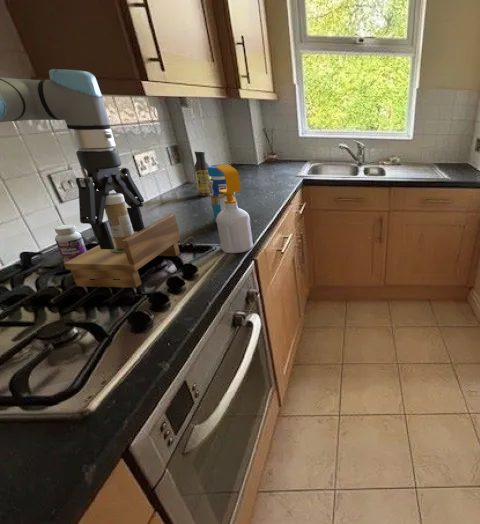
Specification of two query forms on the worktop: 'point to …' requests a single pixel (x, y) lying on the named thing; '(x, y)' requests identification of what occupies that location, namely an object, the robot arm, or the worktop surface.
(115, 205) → the sprinkles bottle
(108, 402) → the worktop surface
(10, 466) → the worktop surface
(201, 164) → the sauce bottle
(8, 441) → the worktop surface
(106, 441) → the worktop surface
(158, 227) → the shelf
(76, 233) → the pill bottle
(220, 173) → the blue canister
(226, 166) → the soap bottle
